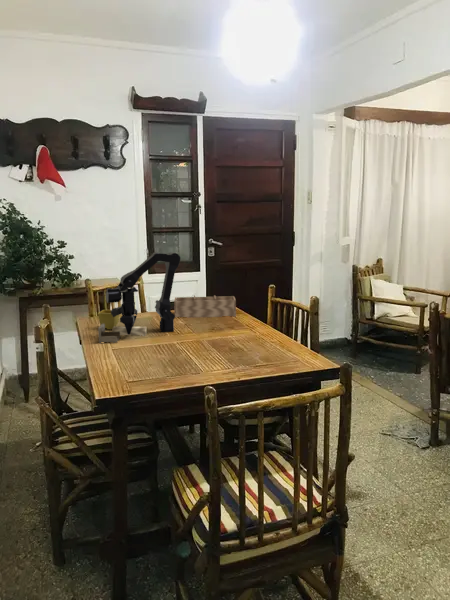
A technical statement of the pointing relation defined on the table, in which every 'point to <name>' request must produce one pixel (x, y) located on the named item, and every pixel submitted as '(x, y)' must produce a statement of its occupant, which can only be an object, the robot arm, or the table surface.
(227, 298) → the holder
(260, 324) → the table surface
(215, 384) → the table surface
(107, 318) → the flower pot
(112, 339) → the bracket
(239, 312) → the table surface
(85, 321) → the table surface
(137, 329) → the rail
